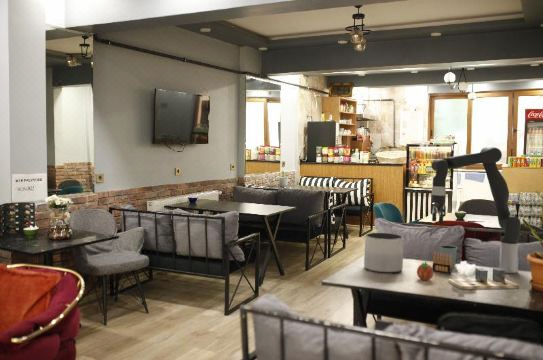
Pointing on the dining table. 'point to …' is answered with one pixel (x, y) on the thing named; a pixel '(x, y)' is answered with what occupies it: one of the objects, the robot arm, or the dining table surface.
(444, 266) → the ammunition clip
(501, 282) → the gauge board
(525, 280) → the dining table surface
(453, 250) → the grey cup
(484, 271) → the slider
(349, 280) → the dining table surface
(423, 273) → the fruit
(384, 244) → the planter
